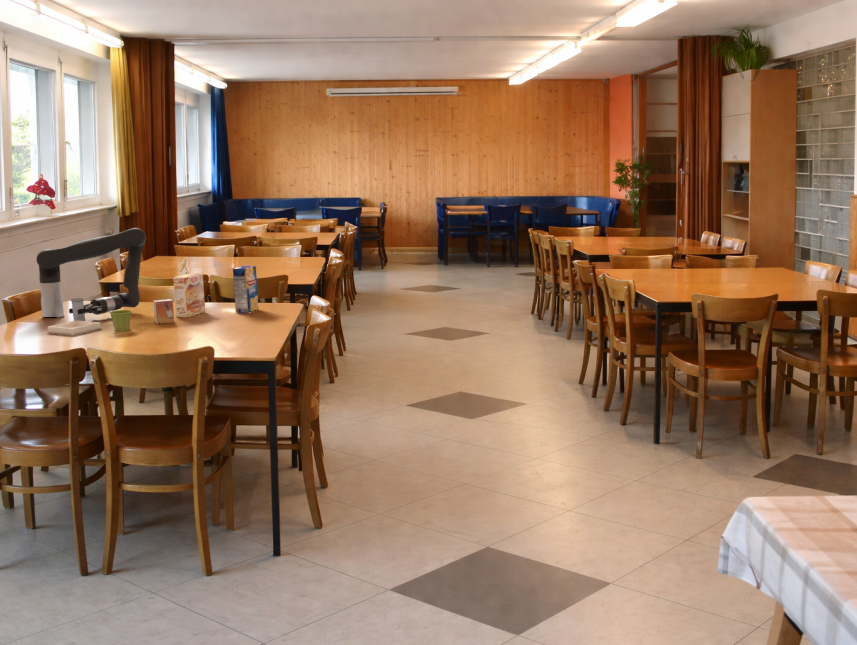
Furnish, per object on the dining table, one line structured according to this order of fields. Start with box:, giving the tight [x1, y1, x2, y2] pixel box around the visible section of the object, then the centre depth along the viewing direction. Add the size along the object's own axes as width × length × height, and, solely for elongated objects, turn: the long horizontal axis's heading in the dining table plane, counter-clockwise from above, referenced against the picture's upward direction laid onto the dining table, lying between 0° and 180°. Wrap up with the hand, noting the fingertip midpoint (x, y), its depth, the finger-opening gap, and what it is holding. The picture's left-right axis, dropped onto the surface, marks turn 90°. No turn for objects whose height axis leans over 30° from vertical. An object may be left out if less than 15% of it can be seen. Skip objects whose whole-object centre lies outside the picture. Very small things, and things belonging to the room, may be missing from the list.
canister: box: [70, 297, 86, 321], centre depth 377 cm, size 5×5×12 cm
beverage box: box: [232, 265, 259, 314], centre depth 401 cm, size 7×11×22 cm, turn 165°
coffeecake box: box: [172, 273, 206, 318], centre depth 395 cm, size 15×7×20 cm, turn 160°
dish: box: [47, 320, 102, 337], centre depth 359 cm, size 15×15×3 cm
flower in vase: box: [177, 258, 190, 275], centre depth 421 cm, size 13×11×25 cm
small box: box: [153, 298, 175, 325], centre depth 378 cm, size 8×6×10 cm
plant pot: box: [108, 309, 133, 332], centre depth 360 cm, size 9×9×9 cm
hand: (74, 311), depth 374 cm, fingers closed on canister, 5 cm apart
